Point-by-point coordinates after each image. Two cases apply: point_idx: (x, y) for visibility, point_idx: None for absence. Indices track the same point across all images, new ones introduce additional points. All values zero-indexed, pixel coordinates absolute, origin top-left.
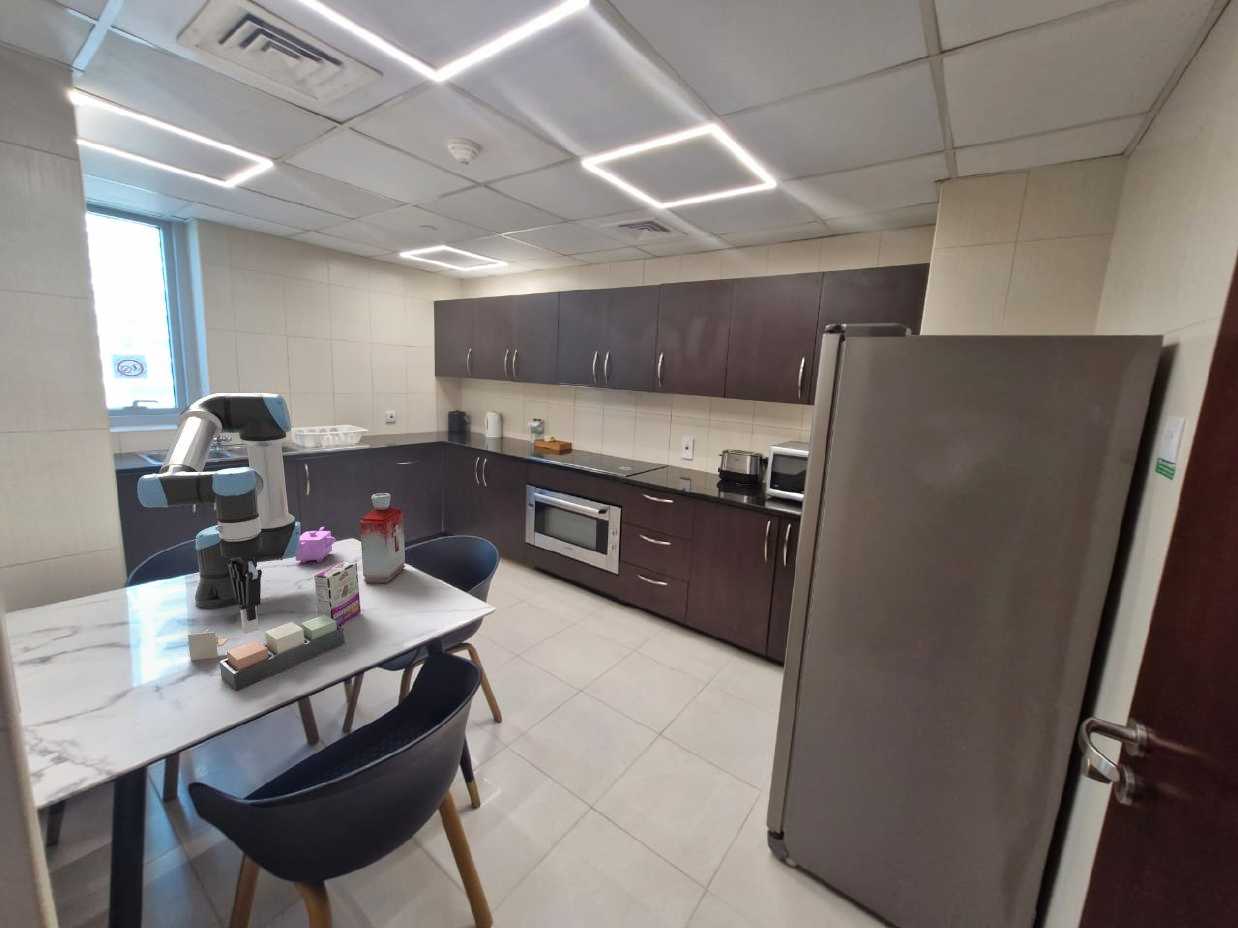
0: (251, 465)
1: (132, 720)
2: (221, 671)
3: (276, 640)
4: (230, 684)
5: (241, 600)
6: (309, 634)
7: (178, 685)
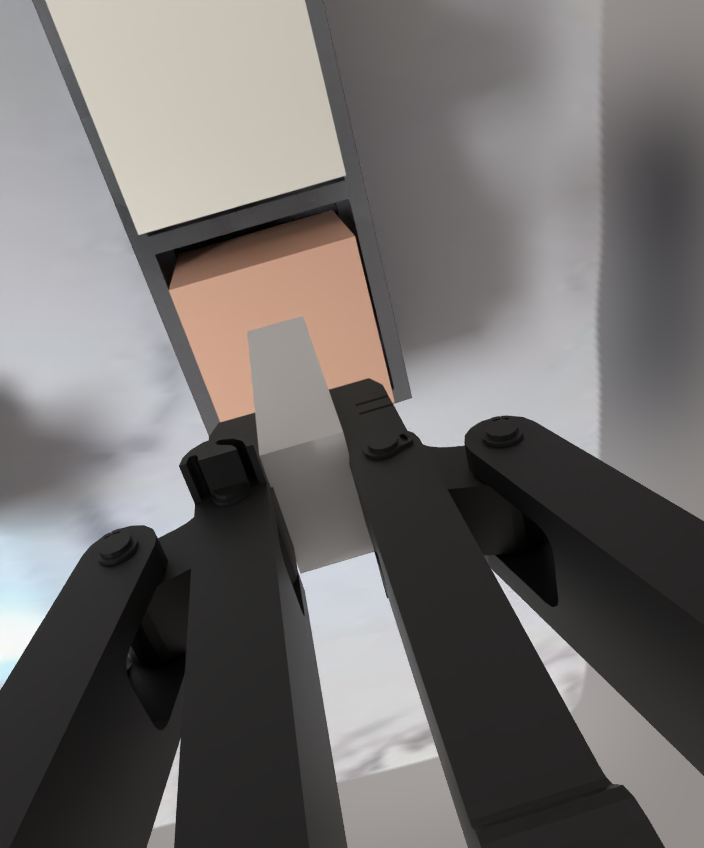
0: None
1: (344, 637)
2: None
3: (340, 174)
4: None
5: (306, 609)
6: None
7: None
